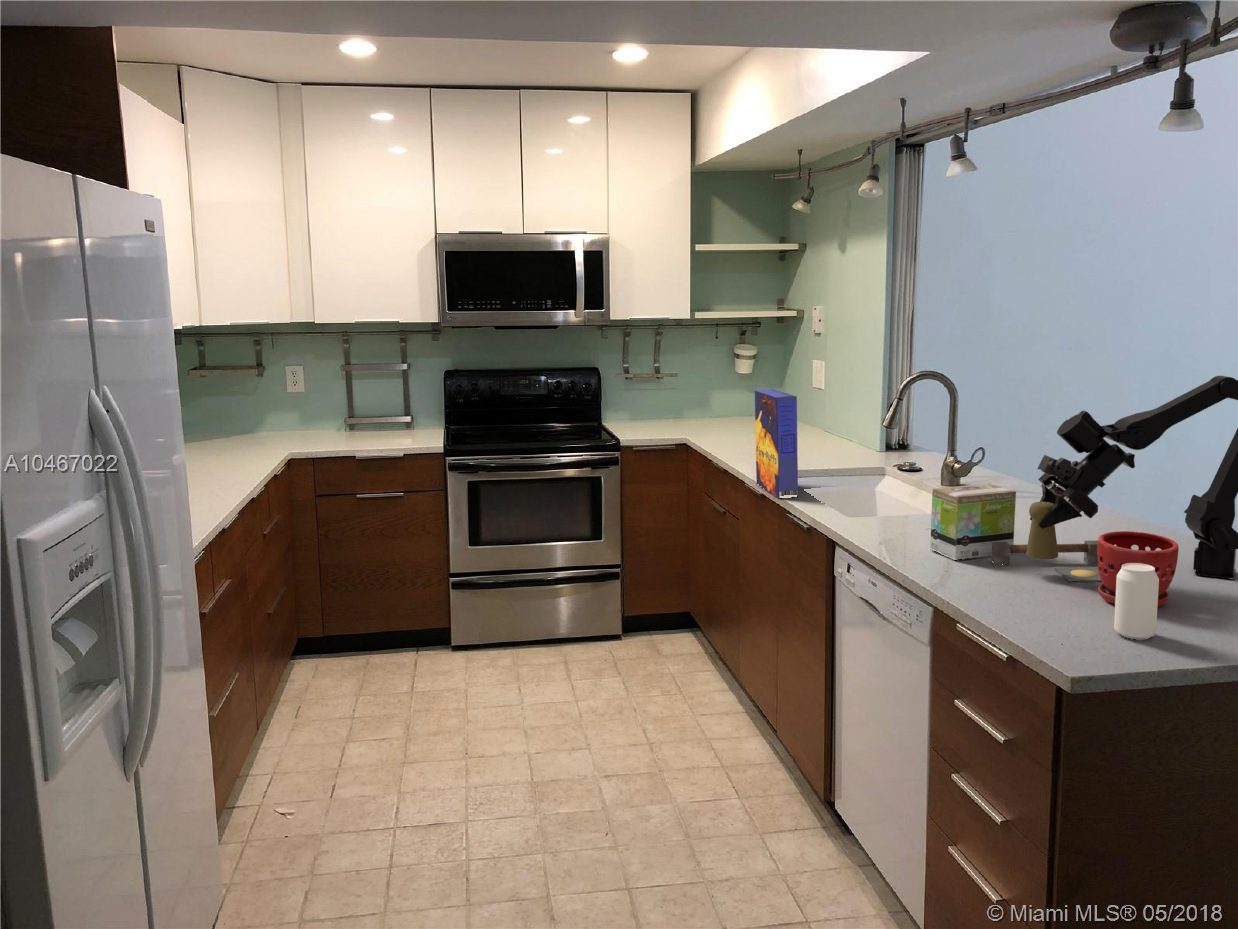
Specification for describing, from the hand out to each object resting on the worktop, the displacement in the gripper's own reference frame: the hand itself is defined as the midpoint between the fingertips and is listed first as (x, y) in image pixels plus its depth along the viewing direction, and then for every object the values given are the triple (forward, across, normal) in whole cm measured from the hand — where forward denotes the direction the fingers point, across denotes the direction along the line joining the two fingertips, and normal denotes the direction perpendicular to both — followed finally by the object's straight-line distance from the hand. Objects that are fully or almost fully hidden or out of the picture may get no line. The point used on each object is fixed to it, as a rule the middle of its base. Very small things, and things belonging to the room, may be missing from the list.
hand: (1035, 523), depth 191 cm
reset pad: (+1, 0, +15) cm, 15 cm away
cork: (+4, 0, +6) cm, 7 cm away
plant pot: (-1, +17, +17) cm, 24 cm away
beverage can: (+4, +34, +12) cm, 36 cm away
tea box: (+14, -18, +2) cm, 23 cm away
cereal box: (+42, -88, -26) cm, 101 cm away
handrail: (+4, -9, +12) cm, 15 cm away
